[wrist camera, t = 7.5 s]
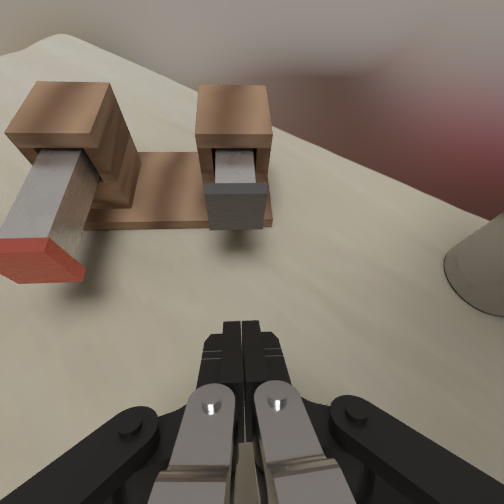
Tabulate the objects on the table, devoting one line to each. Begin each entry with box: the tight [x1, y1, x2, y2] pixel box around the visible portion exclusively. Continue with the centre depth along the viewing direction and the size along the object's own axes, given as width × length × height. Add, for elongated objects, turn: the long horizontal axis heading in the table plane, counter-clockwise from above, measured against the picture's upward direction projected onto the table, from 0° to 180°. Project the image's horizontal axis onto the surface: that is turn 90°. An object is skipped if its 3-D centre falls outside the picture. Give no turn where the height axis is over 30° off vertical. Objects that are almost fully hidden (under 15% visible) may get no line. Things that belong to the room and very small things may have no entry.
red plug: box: [0, 148, 100, 284], centre depth 24 cm, size 5×15×5 cm, turn 3°
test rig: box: [4, 81, 273, 230], centre depth 30 cm, size 25×12×12 cm, turn 93°
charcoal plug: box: [204, 148, 268, 230], centre depth 27 cm, size 5×15×5 cm, turn 3°
